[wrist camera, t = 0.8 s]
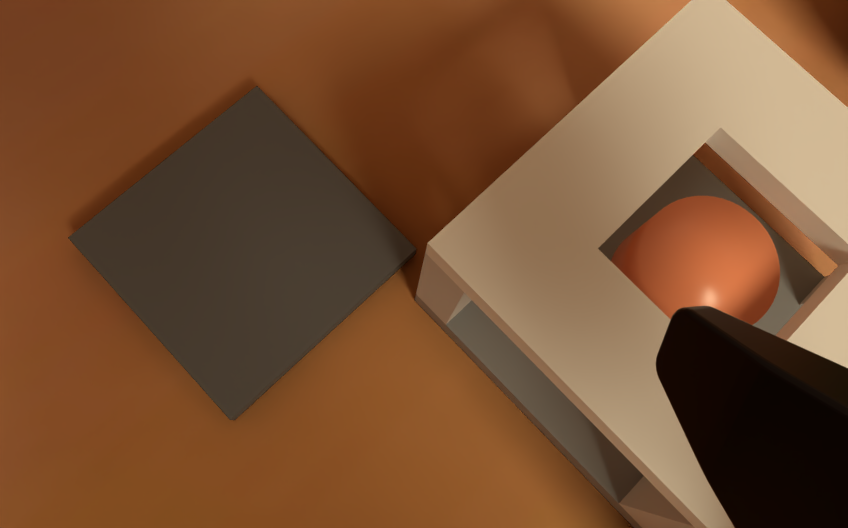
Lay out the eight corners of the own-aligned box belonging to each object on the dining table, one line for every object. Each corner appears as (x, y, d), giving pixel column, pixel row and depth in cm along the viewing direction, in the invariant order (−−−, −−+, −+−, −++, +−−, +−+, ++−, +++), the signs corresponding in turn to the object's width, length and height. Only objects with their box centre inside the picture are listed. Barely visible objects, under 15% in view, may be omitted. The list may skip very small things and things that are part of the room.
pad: (415, 253, 21) (416, 248, 21) (234, 420, 20) (230, 419, 19) (260, 94, 22) (257, 85, 21) (76, 243, 21) (67, 237, 20)
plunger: (756, 287, 18) (808, 266, 16) (675, 374, 18) (717, 366, 15) (664, 200, 19) (702, 168, 16) (581, 282, 18) (609, 260, 16)
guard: (834, 312, 21) (1022, 262, 15) (638, 532, 20) (758, 579, 13) (617, 109, 23) (708, -16, 16) (414, 300, 21) (427, 243, 15)
